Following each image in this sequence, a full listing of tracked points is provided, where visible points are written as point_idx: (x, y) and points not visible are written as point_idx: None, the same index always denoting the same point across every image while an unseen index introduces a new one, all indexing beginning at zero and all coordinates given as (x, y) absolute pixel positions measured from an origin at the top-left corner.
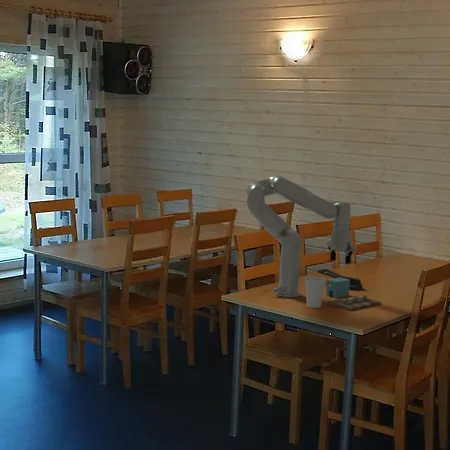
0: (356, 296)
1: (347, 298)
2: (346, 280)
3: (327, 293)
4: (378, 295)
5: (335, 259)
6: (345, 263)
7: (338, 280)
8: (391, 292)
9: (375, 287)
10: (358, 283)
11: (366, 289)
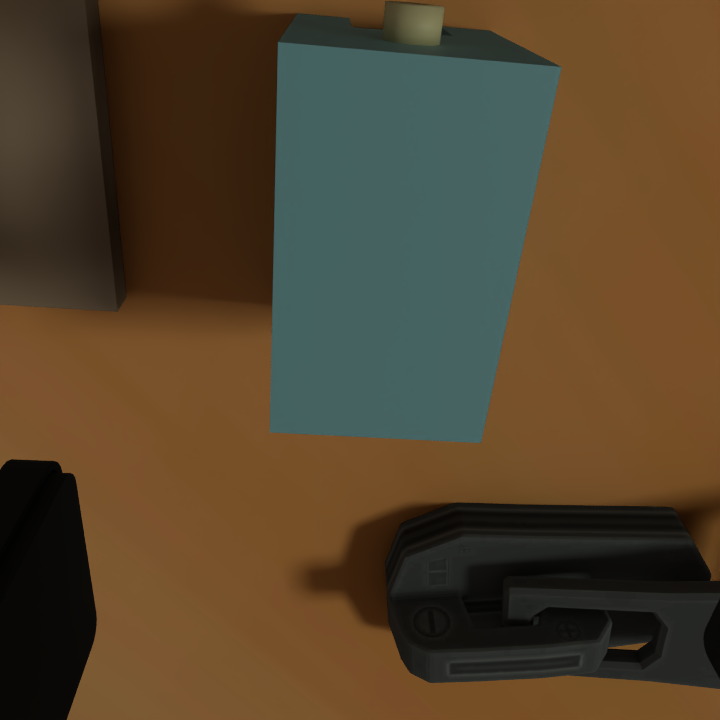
0: (91, 251)
1: (50, 27)
2: (272, 353)
3: (468, 30)
4: (110, 545)
5: (710, 648)
6: (52, 464)
7: (351, 220)
8: (141, 690)
9: (350, 713)
10: (400, 618)
11: (353, 622)
